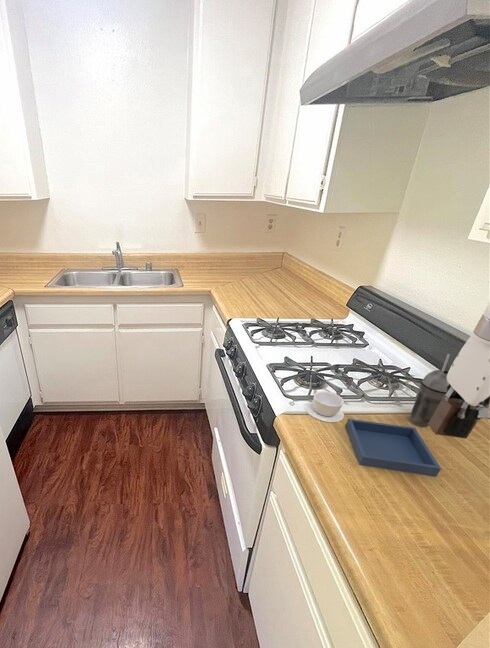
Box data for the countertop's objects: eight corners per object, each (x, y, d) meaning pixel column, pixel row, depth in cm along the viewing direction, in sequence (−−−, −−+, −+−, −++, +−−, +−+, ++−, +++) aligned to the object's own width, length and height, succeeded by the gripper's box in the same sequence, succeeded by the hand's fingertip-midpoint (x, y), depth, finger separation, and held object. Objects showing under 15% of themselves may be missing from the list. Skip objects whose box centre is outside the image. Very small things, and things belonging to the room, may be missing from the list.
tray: (410, 436, 87) (415, 427, 85) (435, 477, 75) (441, 468, 73) (344, 427, 89) (348, 418, 88) (358, 466, 77) (363, 456, 76)
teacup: (335, 428, 89) (341, 413, 86) (298, 412, 94) (303, 398, 92) (348, 412, 95) (354, 398, 92) (313, 398, 101) (318, 384, 98)
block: (457, 427, 63) (474, 400, 60) (466, 438, 61) (484, 410, 58) (427, 423, 64) (443, 396, 61) (435, 434, 62) (451, 406, 58)
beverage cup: (438, 434, 88) (479, 364, 77) (405, 428, 90) (441, 358, 79) (429, 418, 94) (467, 351, 83) (399, 412, 96) (432, 346, 84)
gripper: (577, 358, 45) (498, 462, 55) (503, 316, 58) (450, 406, 68) (511, 352, 46) (446, 455, 56) (453, 312, 59) (409, 401, 70)
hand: (449, 427), depth 62 cm, fingers closed on block, 3 cm apart
